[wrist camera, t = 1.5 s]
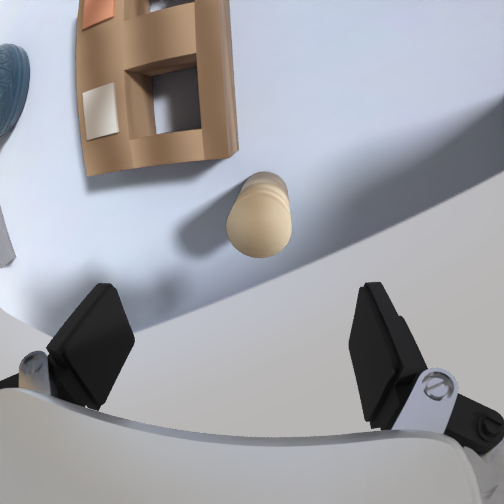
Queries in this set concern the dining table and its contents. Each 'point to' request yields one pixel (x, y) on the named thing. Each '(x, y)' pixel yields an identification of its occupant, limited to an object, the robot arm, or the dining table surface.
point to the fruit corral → (5, 244)
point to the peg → (260, 216)
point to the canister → (12, 84)
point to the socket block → (140, 81)
